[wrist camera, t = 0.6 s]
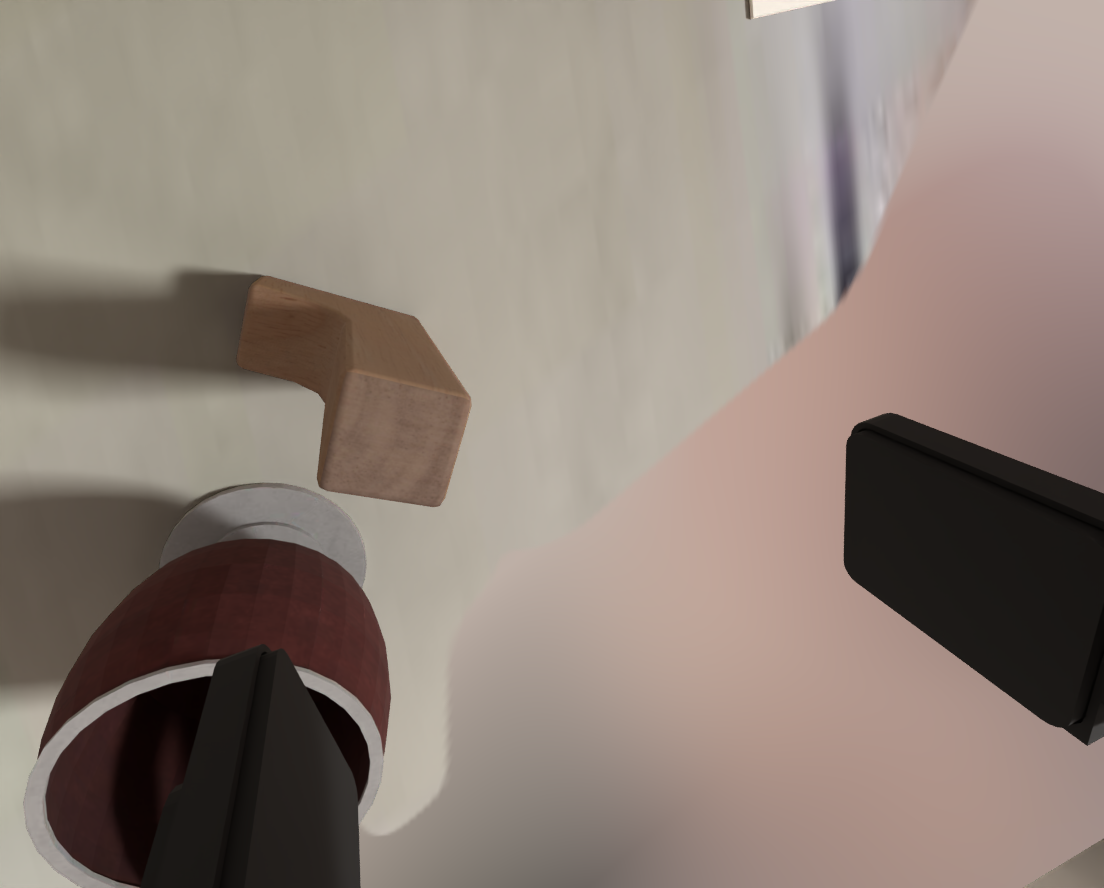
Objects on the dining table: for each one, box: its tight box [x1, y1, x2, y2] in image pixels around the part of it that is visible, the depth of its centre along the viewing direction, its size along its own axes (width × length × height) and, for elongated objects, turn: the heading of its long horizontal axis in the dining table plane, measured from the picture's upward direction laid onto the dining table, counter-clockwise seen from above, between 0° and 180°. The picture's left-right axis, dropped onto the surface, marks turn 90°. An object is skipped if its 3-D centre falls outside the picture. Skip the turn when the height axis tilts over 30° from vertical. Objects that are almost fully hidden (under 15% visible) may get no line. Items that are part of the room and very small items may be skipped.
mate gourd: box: [23, 483, 391, 888], centre depth 30 cm, size 16×14×20 cm
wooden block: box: [236, 276, 472, 507], centre depth 27 cm, size 9×4×18 cm, turn 72°
